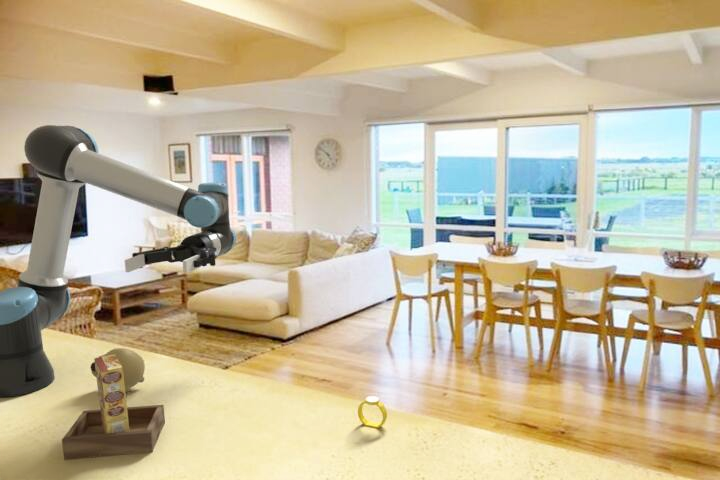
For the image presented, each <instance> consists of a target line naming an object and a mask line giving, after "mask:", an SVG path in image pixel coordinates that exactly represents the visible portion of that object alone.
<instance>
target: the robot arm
mask: <svg viewBox="0 0 720 480" xmlns="http://www.w3.org/2000/svg"><path fill="white" fill-rule="evenodd" d="M23 148H24V149H23V150H24V154H25V157H26V159H27V161H28V163H29V164H30V165H31V166H32V167H33V168H35V169H36V170H37V171H36V175H37V176H38V177H39V179H40V180H41V187H40V193H39V199H38V205H37V211H36V216H35V223H34V229H33V234H32V239H31V244H30V252H29V256H28V261H27V267H26V270H25V271H23V272H21V273H20V274H19V275H18V280H17V286H15V287H10V288H9V287H8V288H4V289H2V290H0V398H8V397H15V396H21V395H25V394H29V393H32V392H36V391H38V390H41V389H43V388H46V387H47V386H49V385H50V384H51V383H53V381H54V380H55V378H56V377H55V370H54V367H53V365H52V364H51V362H50V360H49V358H48V356H47V354H46V352H45V351H44V345H43V337H42V331H43V330H45V329H46V328H47V327H49V326H51V325H53V324H54V323H56V322H57V321H60V319H61V318H62V317H64V315H65V314H66V313H67V311H68V309H69V307H70V304H71V292H70V290H68V284H69V279H68V278H67V277H66V276H65V275H64V271H65V267H66V260H67V254H68V249H69V244H70V241H71V234H72V227H73V224H74V223H73V222H74V219H75V218H74V217H75V211H76V207H77V201H78V197H79V191H80V190H79V189H80V188H81V187H83V186H84V185H87V184H88V185H90V186H93V187H96V188H99V189H102V190H105V191H107V192H109V193H113V194H115V195H118V196H121V197H123V198H126V199H129V200H132V201H135V202H138V203H140V204H143V205H145V206H148V207H150V208H153V209H156V210H159V211H161V212H164V213H167V214H170V215H173V216H176V217H178V218H180V219H182V220H185V221H187V223H188V224H189V225H191V226H192V227H195V228H200V232H197V233H195V234H192V235H189V236H186V237H185V238H183V240H182V241H181V242H180V244H178V245H177V246H172V247H169V246H164V247H163V246H162V247H160V248H155V249H151V250H150V249H149V250H143V251H139V252H138V251H137V252H132V254H131V257H129V258H126V259H124V268H125V269H124V270H125V273H130V272H133V271H136V270H138V269H144V267H145V266H146V265H150V264H156V263H157V264H158V263H163V262H164V263H165V262H168V263H179V262H180V263H182V269H183V271H182V272H183V274H188V273H191V272H193V271H195V270H197V269H199V268H201V267H206V266H208V265H209V266H211V267H215V266H217V265H216V259H217V258H218V257H219V256H223V255H225V254H227V253H228V252H230V251H231V250H232V249H234V247H235V245H236V243H237V235H236V232H235V230H234V229H233V228H232V227H231V224H230V214H229V213H230V212H229V211H230V209H229V193H228V192H229V191H228V186H227V184H226V183H224V182H217V181H216V182H203V183H200V184H198V185H197V190H196V189H193V188H190V187H188V186H185V185H184V184H183V185H182V184H180V183H178V182H176V181H175V182H174V181H172V180H169V179H167V178H164V177H161V176H159V175H156V174H154V173H150V172H148V171H145V170H144V169H140V168H137V167H135V166H133V165H130V164H127V163H125V162H122V161H120V160H117V159H114V158H111V157H109V156H106V155H103V154H101V153H99V147H98V144H97V141H95V139H94V137H93V136H92V135H91V134H90V133H89V132H88V131H87V130H85V129H82V128H80V127H76V126H74V125H73V126H72V125H52V124H51V125H49V124H48V125H47V124H46V125H41V126H39V127H37V128H35V129H34V130H32V131H30V133H29V134H28V136H27V137H26V139H25V140H24V146H23Z"/></svg>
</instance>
